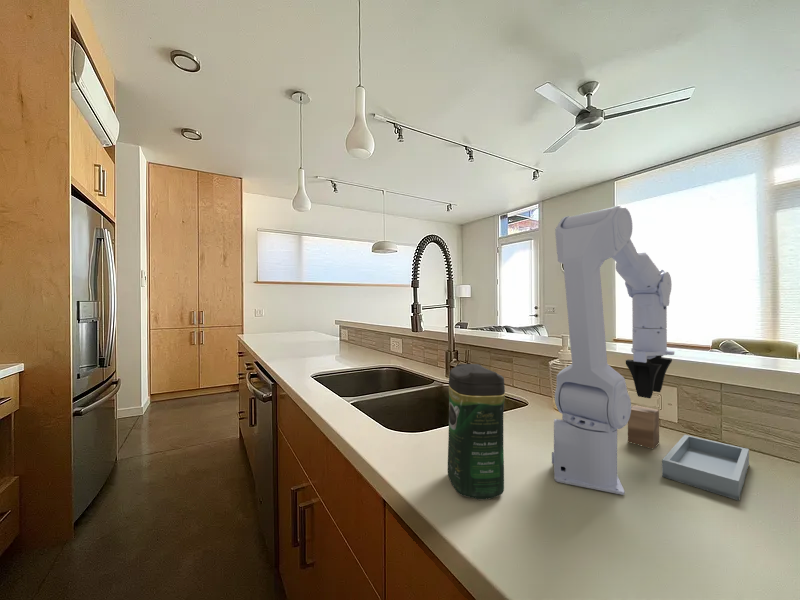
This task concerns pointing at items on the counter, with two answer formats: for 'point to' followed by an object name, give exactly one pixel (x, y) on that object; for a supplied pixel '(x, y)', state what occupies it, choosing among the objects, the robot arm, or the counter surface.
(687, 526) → the counter surface
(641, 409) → the walnut block
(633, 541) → the counter surface
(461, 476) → the coffee jar
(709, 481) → the tray
